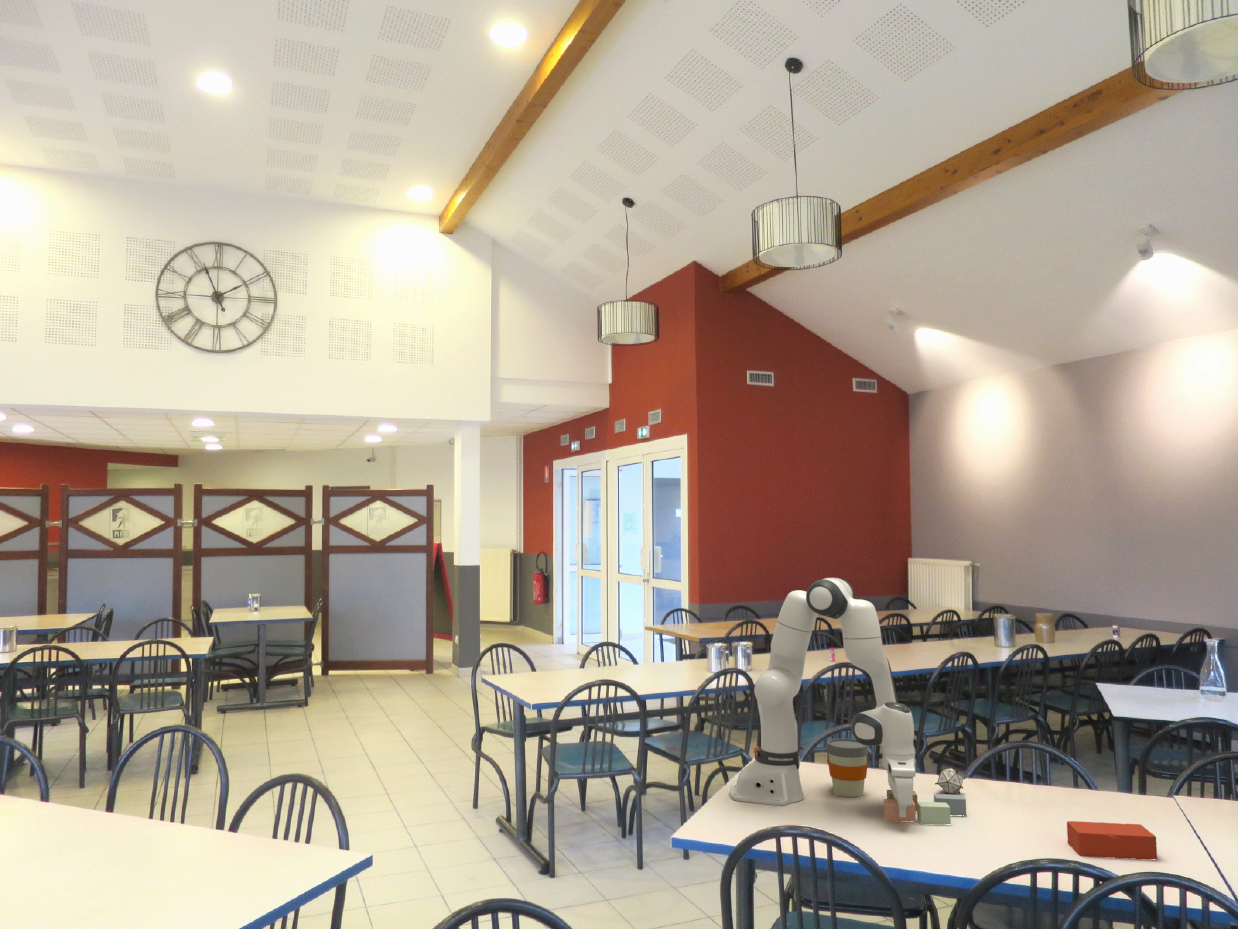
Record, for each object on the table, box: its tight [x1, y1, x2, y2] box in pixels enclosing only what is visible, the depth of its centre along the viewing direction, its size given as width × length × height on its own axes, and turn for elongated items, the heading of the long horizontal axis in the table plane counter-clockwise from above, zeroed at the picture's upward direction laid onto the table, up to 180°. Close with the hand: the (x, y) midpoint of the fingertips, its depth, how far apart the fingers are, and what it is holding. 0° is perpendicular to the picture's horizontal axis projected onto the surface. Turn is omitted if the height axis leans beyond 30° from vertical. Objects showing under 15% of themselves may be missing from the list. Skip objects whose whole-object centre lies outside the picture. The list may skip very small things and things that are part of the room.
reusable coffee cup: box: [826, 738, 869, 798], centre depth 268 cm, size 13×13×15 cm
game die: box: [934, 765, 967, 795], centre depth 266 cm, size 9×8×10 cm
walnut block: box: [886, 789, 918, 811], centre depth 252 cm, size 8×4×5 cm, turn 81°
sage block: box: [916, 801, 952, 825], centre depth 241 cm, size 8×4×5 cm, turn 84°
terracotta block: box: [883, 798, 917, 823], centre depth 243 cm, size 8×4×5 cm, turn 81°
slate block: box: [933, 793, 967, 817], centre depth 248 cm, size 8×4×5 cm, turn 80°
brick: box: [1066, 820, 1158, 860], centre depth 219 cm, size 18×9×6 cm, turn 80°
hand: (900, 812), depth 243 cm, fingers open, 6 cm apart
